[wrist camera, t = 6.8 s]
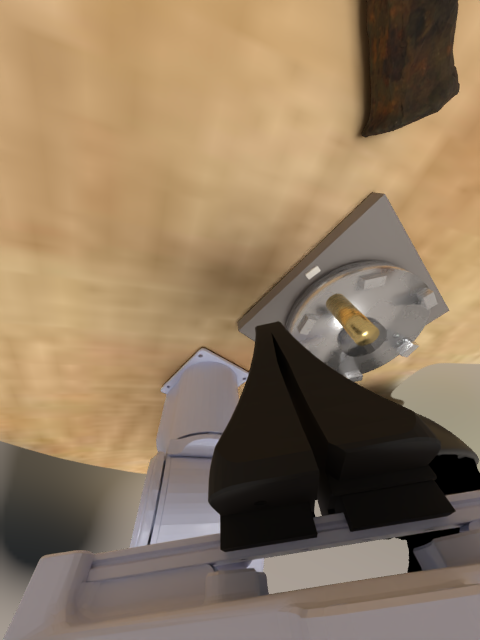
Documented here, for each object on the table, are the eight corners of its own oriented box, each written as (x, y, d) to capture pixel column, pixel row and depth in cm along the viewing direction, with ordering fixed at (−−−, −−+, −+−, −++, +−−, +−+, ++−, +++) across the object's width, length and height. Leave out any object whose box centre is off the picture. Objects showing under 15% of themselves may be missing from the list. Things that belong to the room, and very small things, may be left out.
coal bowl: (353, 447, 44) (424, 590, 29) (278, 432, 38) (320, 609, 22) (440, 395, 35) (614, 567, 20) (361, 362, 28) (534, 588, 13)
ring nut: (427, 321, 22) (492, 368, 17) (321, 379, 26) (347, 430, 21) (390, 226, 16) (476, 252, 11) (260, 322, 20) (274, 374, 15)
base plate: (321, 378, 29) (326, 388, 28) (237, 322, 22) (238, 332, 21) (437, 303, 23) (451, 311, 22) (372, 192, 16) (386, 194, 15)
